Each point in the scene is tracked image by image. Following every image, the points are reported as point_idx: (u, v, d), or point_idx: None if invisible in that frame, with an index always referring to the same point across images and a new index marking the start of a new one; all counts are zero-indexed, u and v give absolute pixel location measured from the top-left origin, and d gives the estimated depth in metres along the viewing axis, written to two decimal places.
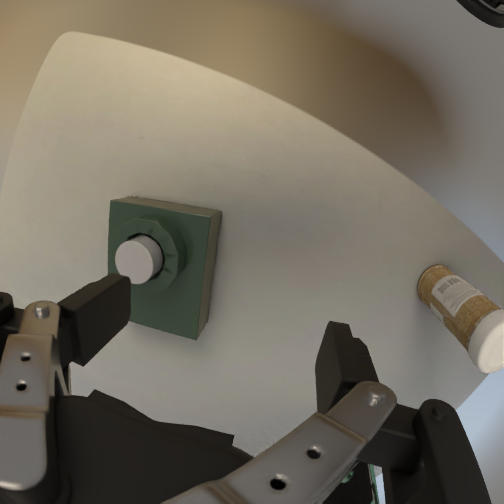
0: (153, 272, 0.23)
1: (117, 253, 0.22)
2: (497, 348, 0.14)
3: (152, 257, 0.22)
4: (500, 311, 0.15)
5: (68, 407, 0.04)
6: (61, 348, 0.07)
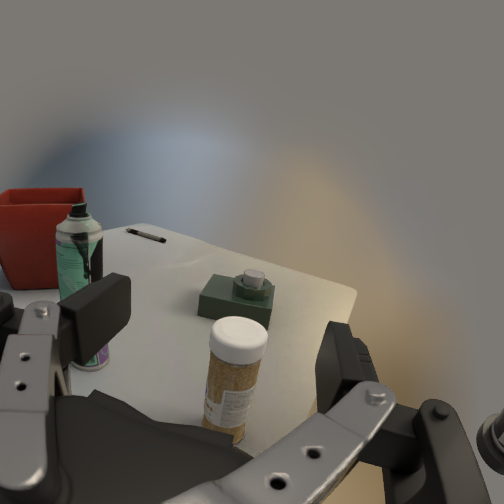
0: (250, 277, 0.50)
1: None
2: (241, 325, 0.24)
3: (257, 278, 0.50)
4: None
5: (68, 407, 0.04)
6: (61, 348, 0.07)
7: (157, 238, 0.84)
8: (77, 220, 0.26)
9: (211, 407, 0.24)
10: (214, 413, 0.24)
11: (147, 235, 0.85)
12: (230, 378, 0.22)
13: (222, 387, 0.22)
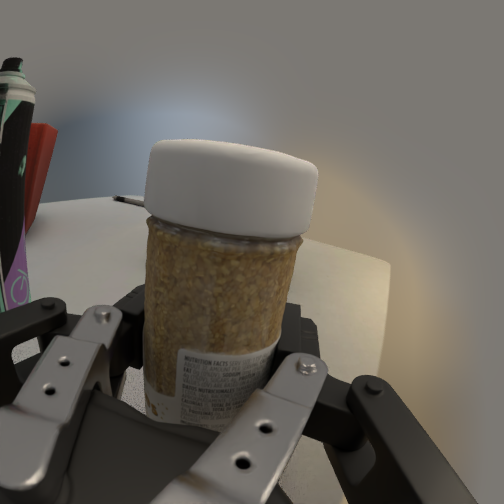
0: None
1: None
2: None
3: None
4: None
5: (97, 421, 0.04)
6: (122, 353, 0.08)
7: None
8: (2, 75, 0.12)
9: (153, 403, 0.08)
10: None
11: (135, 201, 0.71)
12: (196, 302, 0.07)
13: (174, 336, 0.07)
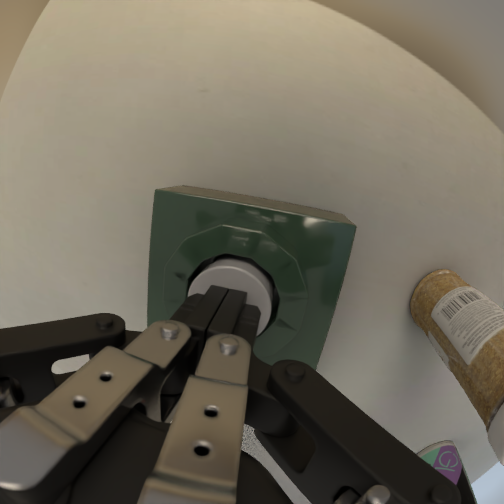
0: None
1: (193, 288, 0.12)
2: None
3: (270, 298, 0.12)
4: None
5: (124, 444, 0.04)
6: (189, 369, 0.08)
7: None
8: None
9: None
10: None
11: None
12: None
13: None
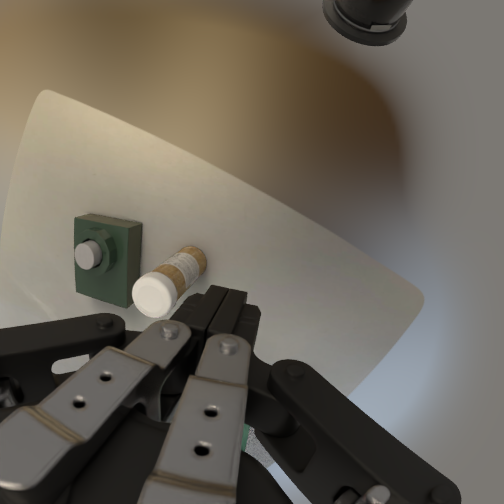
0: (94, 262, 0.35)
1: (75, 251, 0.35)
2: (145, 297, 0.28)
3: (93, 253, 0.35)
4: (152, 272, 0.29)
5: (124, 444, 0.04)
6: (189, 369, 0.08)
7: None
8: None
9: (190, 286, 0.36)
10: (193, 282, 0.37)
11: None
12: (181, 290, 0.32)
13: (184, 290, 0.33)
